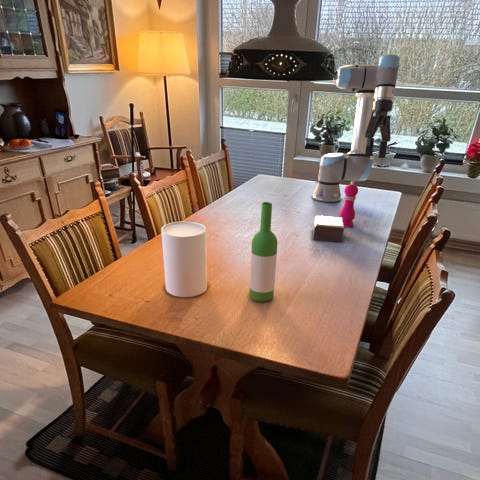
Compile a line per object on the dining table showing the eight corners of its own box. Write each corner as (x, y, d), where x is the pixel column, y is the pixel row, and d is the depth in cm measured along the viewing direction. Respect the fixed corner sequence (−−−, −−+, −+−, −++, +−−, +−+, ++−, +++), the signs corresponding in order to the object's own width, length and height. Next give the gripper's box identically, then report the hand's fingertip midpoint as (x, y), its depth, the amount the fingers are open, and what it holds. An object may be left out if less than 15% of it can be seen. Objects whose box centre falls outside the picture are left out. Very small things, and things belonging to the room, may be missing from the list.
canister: (212, 281, 140) (212, 224, 129) (198, 299, 129) (196, 239, 118) (175, 275, 143) (172, 219, 132) (158, 293, 132) (153, 233, 121)
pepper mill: (334, 223, 194) (341, 179, 184) (347, 221, 196) (355, 178, 186) (343, 228, 189) (350, 183, 178) (356, 226, 191) (364, 182, 180)
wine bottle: (244, 296, 132) (247, 202, 116) (260, 288, 136) (266, 197, 120) (261, 305, 127) (267, 209, 111) (278, 297, 132) (286, 203, 116)
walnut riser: (313, 230, 185) (315, 215, 181) (340, 232, 184) (343, 217, 180) (313, 240, 175) (315, 224, 171) (341, 242, 174) (344, 226, 170)
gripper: (380, 93, 155) (371, 154, 162) (403, 104, 173) (395, 158, 180) (361, 95, 159) (353, 154, 166) (386, 105, 177) (378, 158, 184)
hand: (375, 156), depth 173 cm, fingers open, 13 cm apart
